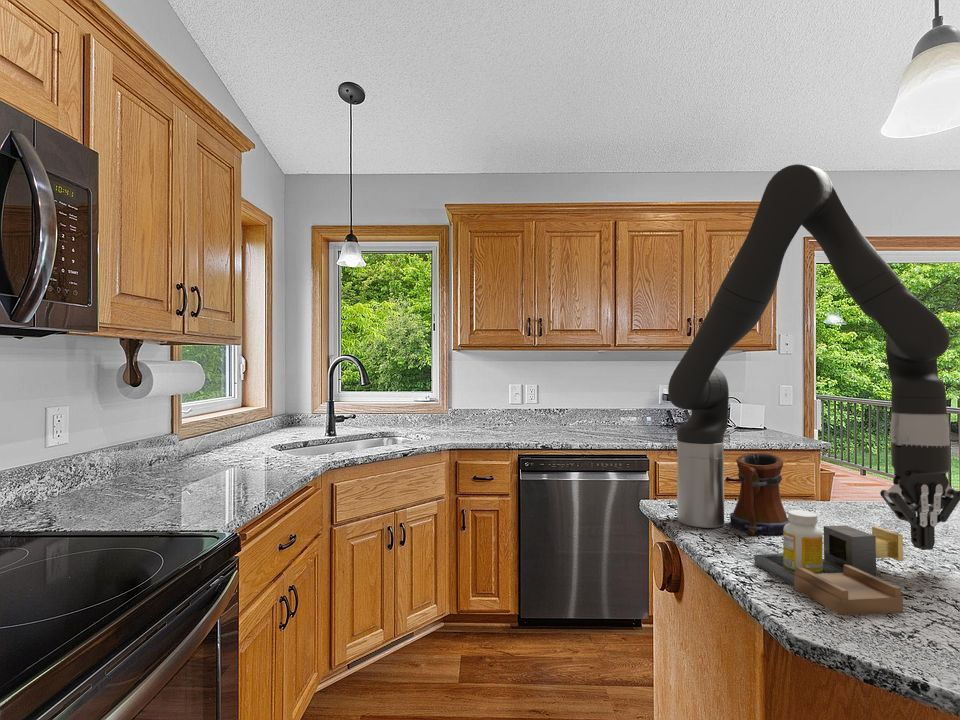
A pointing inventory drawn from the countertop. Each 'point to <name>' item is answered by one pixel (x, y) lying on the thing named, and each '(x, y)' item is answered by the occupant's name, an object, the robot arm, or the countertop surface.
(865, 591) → the wooden tray
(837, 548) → the block
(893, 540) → the tan boxy piece
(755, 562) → the socket collar
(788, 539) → the supplement bottle
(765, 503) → the mug
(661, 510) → the countertop surface
